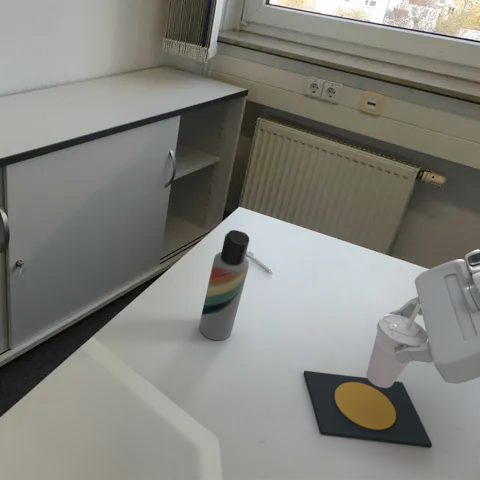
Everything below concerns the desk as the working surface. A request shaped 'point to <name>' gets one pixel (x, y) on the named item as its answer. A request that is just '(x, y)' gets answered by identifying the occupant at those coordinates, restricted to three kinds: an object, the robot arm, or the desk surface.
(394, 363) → the smoothie
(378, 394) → the mat
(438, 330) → the robot arm
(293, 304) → the desk surface
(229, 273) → the lotion bottle
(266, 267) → the white spoon
